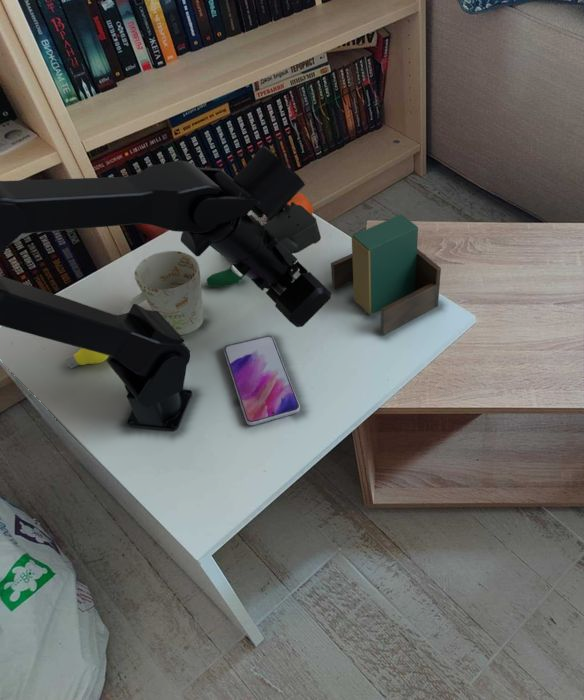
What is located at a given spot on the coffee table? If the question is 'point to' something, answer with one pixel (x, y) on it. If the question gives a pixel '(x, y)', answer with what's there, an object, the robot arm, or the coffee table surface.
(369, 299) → the book
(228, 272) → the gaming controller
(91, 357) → the light bulb
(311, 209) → the pumpkin
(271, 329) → the coffee table surface
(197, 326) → the mug
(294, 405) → the smartphone
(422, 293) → the book rack
